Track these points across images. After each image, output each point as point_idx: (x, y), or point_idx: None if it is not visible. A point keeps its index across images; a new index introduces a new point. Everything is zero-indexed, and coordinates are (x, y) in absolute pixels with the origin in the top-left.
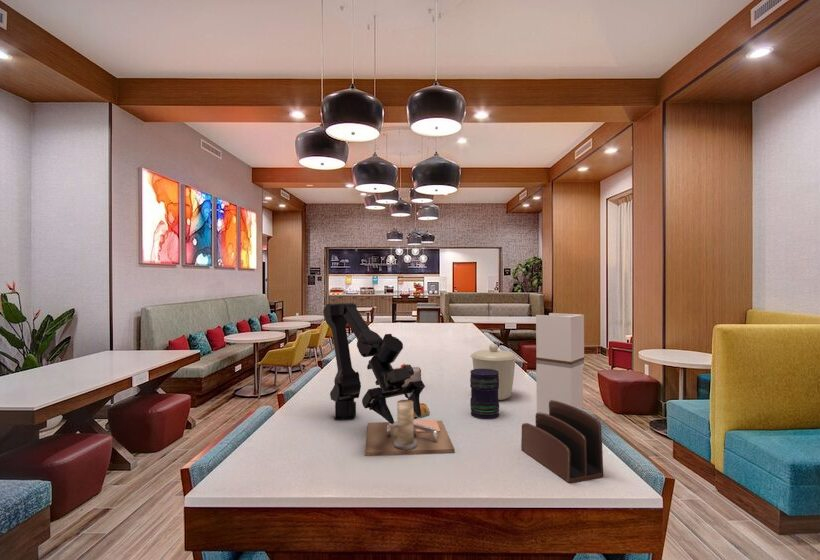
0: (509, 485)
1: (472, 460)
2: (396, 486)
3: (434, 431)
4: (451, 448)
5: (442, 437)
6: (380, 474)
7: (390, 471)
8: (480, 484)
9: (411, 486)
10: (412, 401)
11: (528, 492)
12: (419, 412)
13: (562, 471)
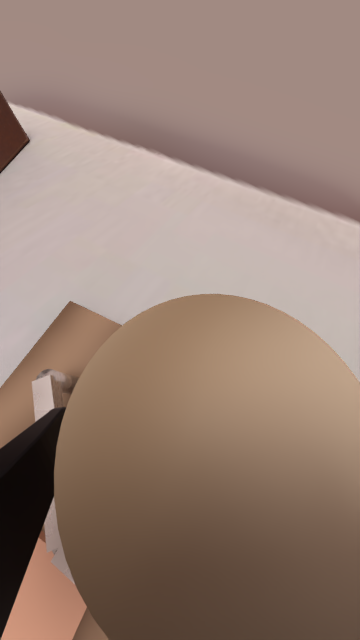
0: (108, 165)
1: (77, 252)
2: (302, 236)
3: (51, 377)
4: (73, 308)
5: (15, 409)
6: (327, 294)
7: (296, 296)
8: (147, 183)
9: (271, 224)
10: (88, 385)
11: (103, 146)
12: (48, 422)
13: (12, 134)
